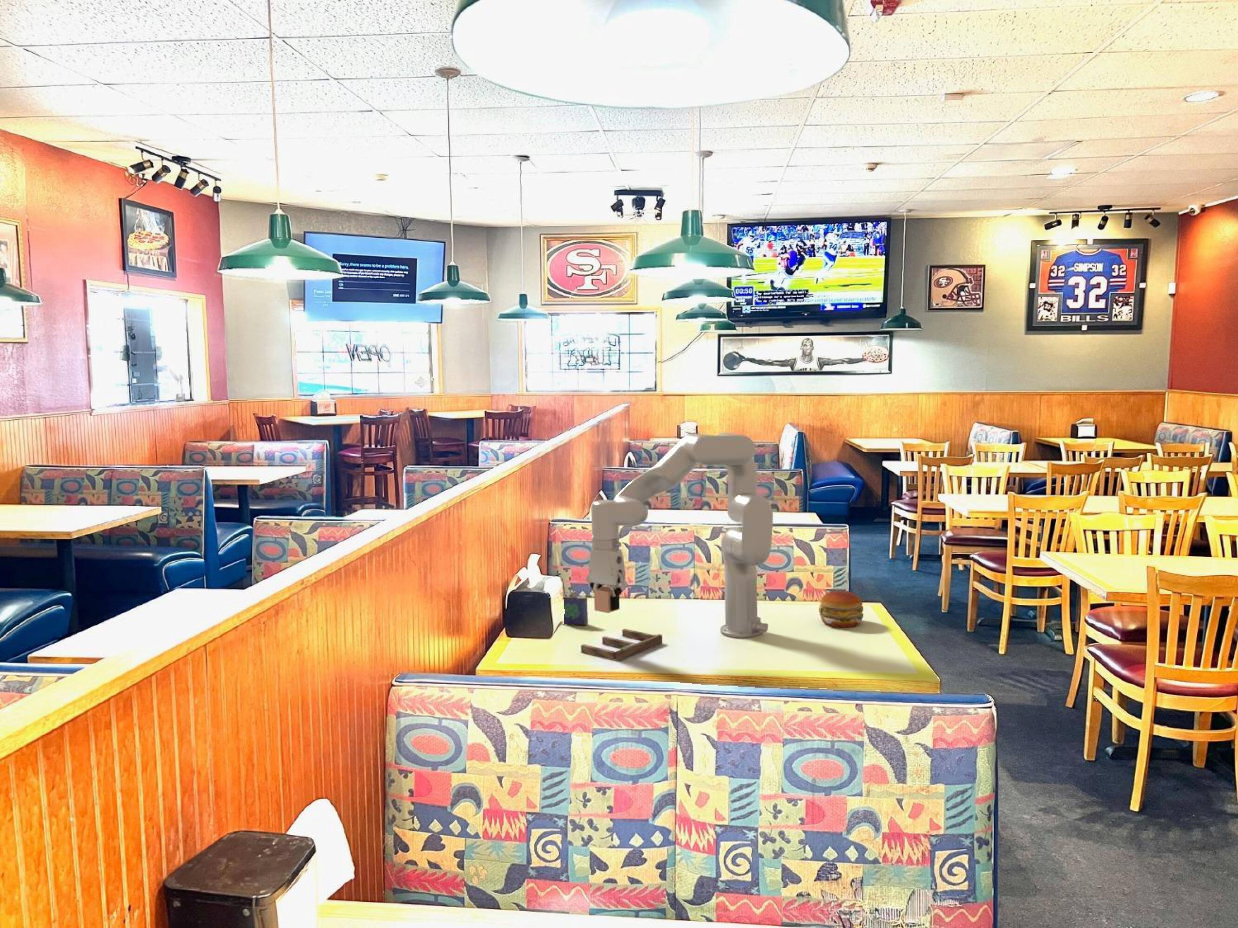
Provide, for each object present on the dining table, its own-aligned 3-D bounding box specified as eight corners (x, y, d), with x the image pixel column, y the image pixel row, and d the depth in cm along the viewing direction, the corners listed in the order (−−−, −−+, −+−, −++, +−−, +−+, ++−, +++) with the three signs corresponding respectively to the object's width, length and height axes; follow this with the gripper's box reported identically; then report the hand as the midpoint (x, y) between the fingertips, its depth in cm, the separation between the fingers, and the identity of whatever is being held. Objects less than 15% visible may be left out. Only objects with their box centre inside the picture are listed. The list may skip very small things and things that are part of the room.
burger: (846, 632, 262) (846, 599, 261) (809, 623, 272) (809, 591, 271) (872, 623, 271) (872, 591, 270) (835, 614, 281) (835, 584, 280)
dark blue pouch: (589, 624, 279) (588, 590, 278) (585, 626, 276) (584, 593, 275) (562, 621, 282) (561, 588, 281) (558, 624, 280) (557, 591, 279)
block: (619, 609, 250) (619, 588, 249) (608, 613, 246) (607, 591, 246) (606, 606, 253) (605, 585, 253) (594, 610, 249) (594, 589, 249)
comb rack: (662, 643, 257) (662, 633, 257) (619, 661, 242) (618, 650, 242) (625, 635, 266) (624, 625, 265) (581, 652, 251) (580, 642, 251)
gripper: (637, 545, 245) (639, 609, 247) (591, 539, 256) (593, 600, 258) (620, 549, 240) (621, 615, 241) (574, 543, 250) (575, 606, 252)
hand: (607, 607), depth 250 cm, fingers closed on block, 5 cm apart
